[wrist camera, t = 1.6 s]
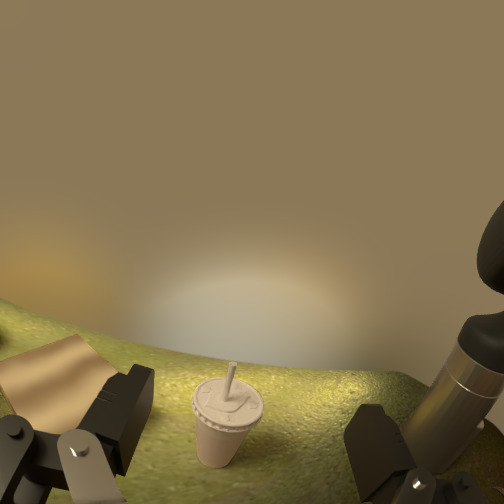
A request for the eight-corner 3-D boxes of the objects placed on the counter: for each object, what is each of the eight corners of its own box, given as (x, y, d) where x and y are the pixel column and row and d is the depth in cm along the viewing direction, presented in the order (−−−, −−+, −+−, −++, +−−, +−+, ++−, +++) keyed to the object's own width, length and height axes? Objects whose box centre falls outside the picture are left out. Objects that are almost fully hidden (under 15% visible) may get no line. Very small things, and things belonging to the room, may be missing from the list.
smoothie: (174, 441, 26) (185, 345, 22) (223, 427, 30) (249, 335, 26) (202, 485, 21) (225, 399, 17) (254, 465, 25) (294, 377, 21)
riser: (146, 416, 28) (146, 394, 27) (54, 473, 16) (43, 453, 15) (79, 356, 34) (77, 333, 33) (-1, 388, 22) (-10, 364, 20)
